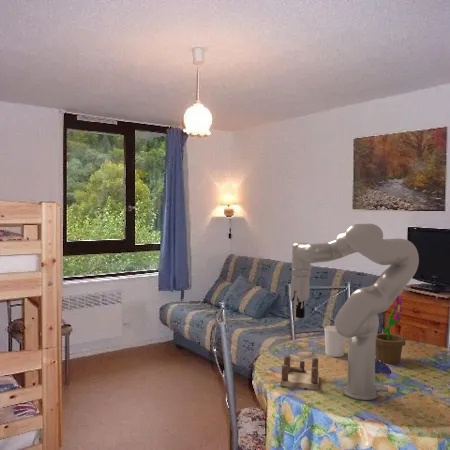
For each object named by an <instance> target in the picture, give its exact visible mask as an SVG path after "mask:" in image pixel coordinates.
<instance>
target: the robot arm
mask: <svg viewBox="0 0 450 450" xmlns="http://www.w3.org/2000/svg"><path fill="white" fill-rule="evenodd" d="M291 249H292V251H291V282H290V292H289V300H290V301H291V302H293V305H294V306H295V318H299V319H304V318H305V314H306V313H305V310H306V309H305V308H306V302H307V301H308V299H309V298H310V292H311V291H310V290H311V288H310V278H311V264H317V263H328V262H332V261H335V260H338V259H342V258H345V257H347V256H349V255H353V254H355V253H358V254H360V255H362V256H364V258H367V259H368V260H370V261H371V262H373V263H375V264H377V265H379V266H388V267H387V268H386V269H385V270H384V271H383V272H382V273H381V274H380V276H379V277H378V278H377V280H376V281H374V283H373V284H372V285H369V286H365V287H360V288H358V289H355V290H354V291H353V292H352V293H351V295H349V297H348V298H347V299H346V301H345V303H344V304H343V305H342V306H341V308H340V309H339V311H338V313H336V315H335V318H334V326H335V328H336V331H337V332H338V333H339V334H340V335H341V336H343V337H346V338H349V339H348V345H347V372H346V373H347V377H346V378H347V379H346V383H347V384H346V385H344V386H343V387H342V393H343V394H344V395H345V396H347V397H348V398H352V399H355V400H358V401H359V400H361V401H372V400H375V399H377V398H379V396H380V395H379V392H383V393H389V386H384V384H381V383H380V384H379V383H377V382H376V380H375V378H376V377H375V372H376V354H375V352H376V337H377V334H378V330H379V325H380V318H379V315H378V314H383V313H384V312H386V311H387V310H389V309H390V308H391V306H392V305H393V303H394V302H395V301H396V299H397V297H398V295H399V296H400V294H402V293H401V292H402V291H403V290H404V289H405V287H407V286H408V284H409V283H410V281H411V280H412V279H413V277H414V276H415V274H416V273H417V271H418V267H419V264H420V259H419V258H420V257H419V252H418V249H417V247H416V246H415V245H414V243H413V242H412V241H410V240H407V239H406V238H405V239H404V238H386V239H385V238H384V233H383V230H382V229H381V227H380V226H378V225H377V224H374V223H356V224H352V225H350V226H349V227H348V228H347V229H346V231H344V232H343V231H342V232H340V233H339V234H337V236H336V238H335V240H332V241H328V242H323V243H322V242H321V243H320V242H319V243H308V242H295V243H293V244H292V247H291Z"/></svg>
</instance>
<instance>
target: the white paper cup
mask: <svg viewBox="0 0 450 450" xmlns="http://www.w3.org/2000/svg"><path fill="white" fill-rule="evenodd" d="M346 338H347V337H343V336H341V335H340V334H339V333H338V332H337V331H336V328H335V325H328V326H324V350H325V351H324V353H325V355H326V356H328V357H331V358H341V357H344V355H345V346H346Z"/></svg>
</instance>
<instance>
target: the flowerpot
mask: <svg viewBox="0 0 450 450" xmlns="http://www.w3.org/2000/svg"><path fill="white" fill-rule="evenodd" d="M395 301H396V304H394V305H393V310H392V311H391V313H390V314H389V319H388V323H387V327H385V328H384V331H383V332H384V333H383V332H382V333H378V332H377V337H376V352H375V359H376V358H378V359H380V360H382V361H383V362H384V363H383V364H387V365H398V364H401V357H402V352H403V346H406V337H404V336H401V335H398V334H394V333H391V326H395V325H396V324H397V323H400V322H401V318H402V317H401V316H402V315H401V313H403V311H404V307H403V306H402V303H403V296H402V295H401V296H400V294H399V295H398V297H397V298H396V299H395ZM393 315H394V317H393Z"/></svg>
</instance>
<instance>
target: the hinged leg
mask: <svg viewBox="0 0 450 450" xmlns="http://www.w3.org/2000/svg"><path fill="white" fill-rule="evenodd" d="M305 362H306V361H305V360H300V361H299V366H291V356H289V355H284V356H283V365H288V366H290V371H294V372H304V370H305V364H306V363H305Z"/></svg>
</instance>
